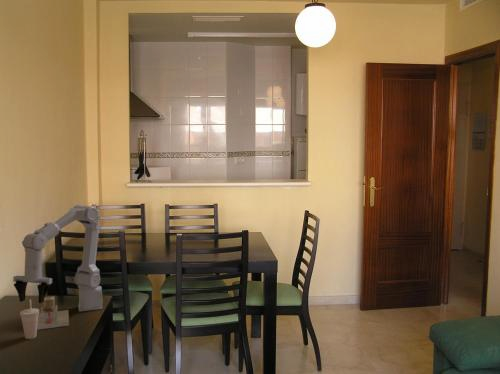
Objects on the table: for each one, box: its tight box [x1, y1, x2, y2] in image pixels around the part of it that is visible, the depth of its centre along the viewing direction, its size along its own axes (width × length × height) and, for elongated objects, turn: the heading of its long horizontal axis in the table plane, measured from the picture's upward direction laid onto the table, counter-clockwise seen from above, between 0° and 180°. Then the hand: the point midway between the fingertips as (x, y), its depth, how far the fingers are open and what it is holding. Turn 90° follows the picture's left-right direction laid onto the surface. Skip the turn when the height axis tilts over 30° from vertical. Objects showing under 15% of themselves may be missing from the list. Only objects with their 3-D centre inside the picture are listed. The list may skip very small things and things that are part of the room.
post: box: [42, 295, 56, 311], centre depth 181 cm, size 4×4×8 cm
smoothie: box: [19, 298, 40, 340], centre depth 167 cm, size 6×6×14 cm
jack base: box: [37, 304, 70, 331], centre depth 181 cm, size 14×14×6 cm
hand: (31, 301), depth 173 cm, fingers open, 7 cm apart
